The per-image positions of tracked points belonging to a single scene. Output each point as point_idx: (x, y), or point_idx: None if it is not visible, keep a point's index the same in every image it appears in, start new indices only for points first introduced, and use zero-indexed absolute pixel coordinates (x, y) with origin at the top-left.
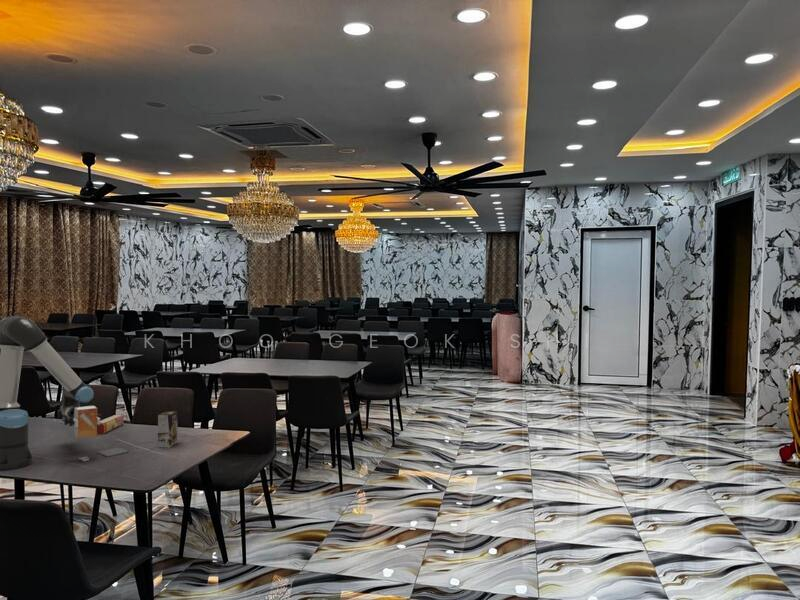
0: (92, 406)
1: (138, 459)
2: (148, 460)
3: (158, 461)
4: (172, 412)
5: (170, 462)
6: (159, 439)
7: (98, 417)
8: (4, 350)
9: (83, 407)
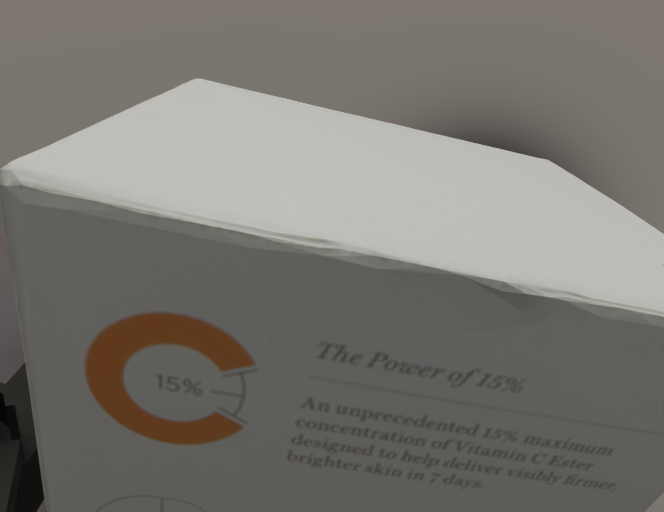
0: (183, 131)
1: (14, 358)
2: (11, 311)
3: (9, 273)
4: None
5: (4, 238)
6: None
7: (21, 393)
8: None
9: (467, 190)
